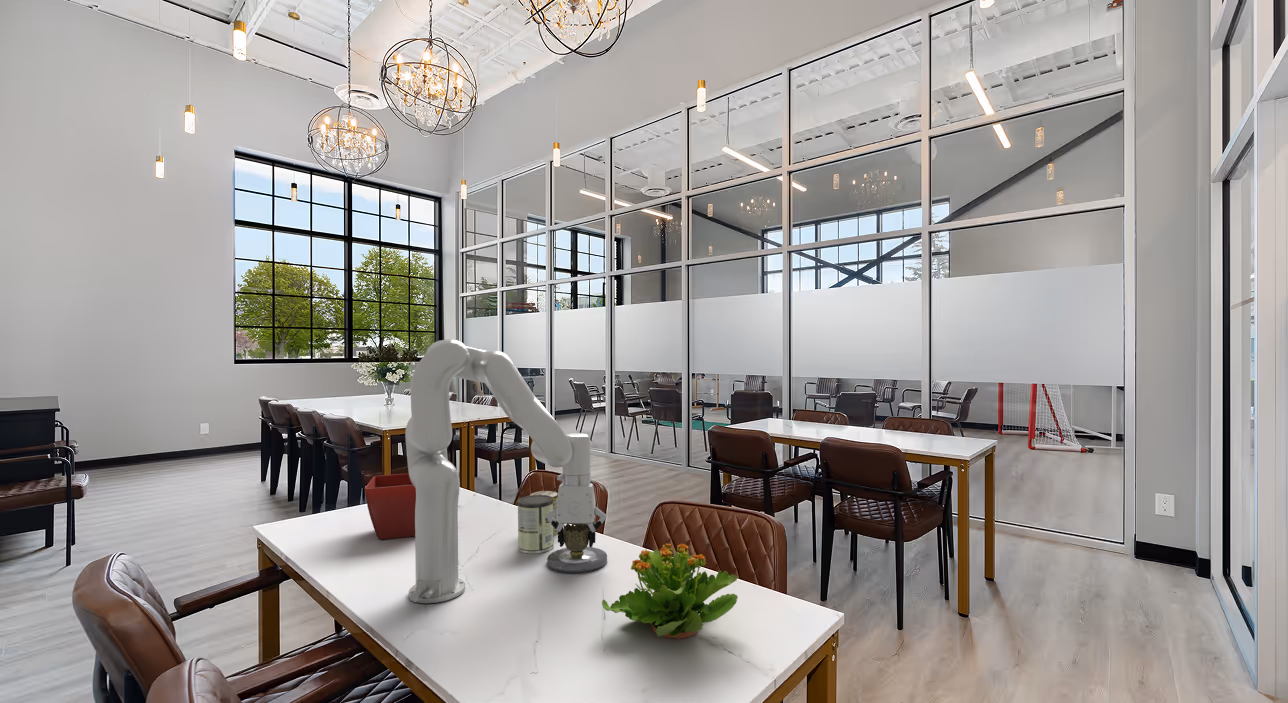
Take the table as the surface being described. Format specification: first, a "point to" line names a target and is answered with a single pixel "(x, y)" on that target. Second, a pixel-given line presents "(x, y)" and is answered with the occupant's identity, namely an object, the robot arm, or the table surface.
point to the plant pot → (392, 505)
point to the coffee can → (535, 524)
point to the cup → (576, 538)
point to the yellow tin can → (555, 496)
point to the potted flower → (674, 593)
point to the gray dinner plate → (577, 561)
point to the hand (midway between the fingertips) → (576, 544)
